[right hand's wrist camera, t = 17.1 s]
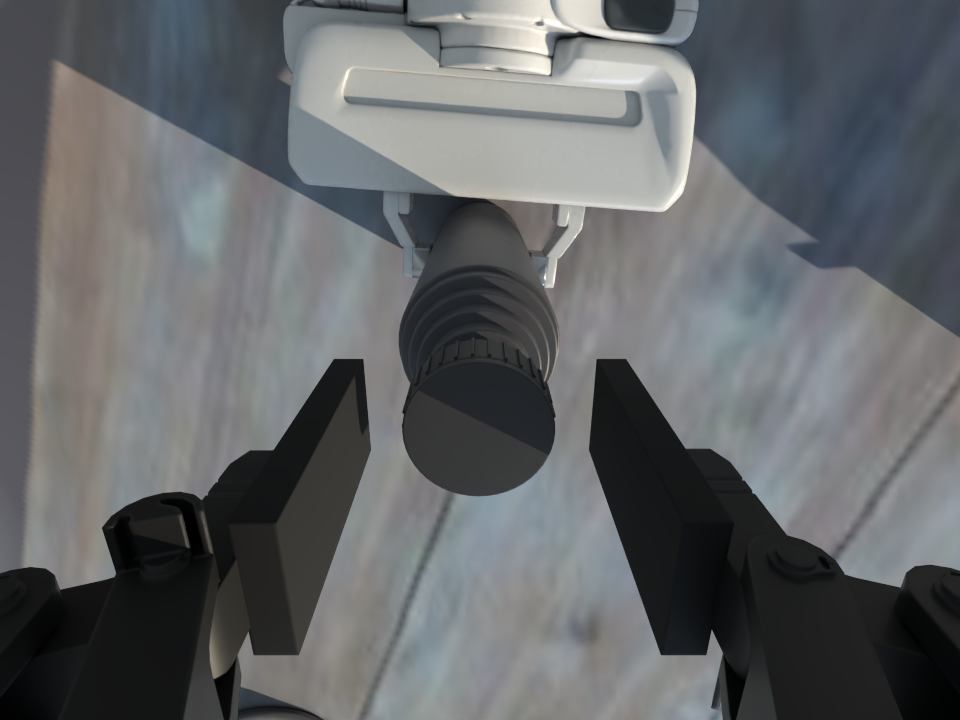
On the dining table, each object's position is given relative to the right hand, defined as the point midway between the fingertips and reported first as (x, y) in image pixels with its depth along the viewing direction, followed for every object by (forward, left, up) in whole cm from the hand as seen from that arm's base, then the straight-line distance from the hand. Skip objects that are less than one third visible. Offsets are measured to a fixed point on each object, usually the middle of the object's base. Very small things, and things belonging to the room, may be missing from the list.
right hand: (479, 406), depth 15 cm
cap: (0, 0, +1) cm, 1 cm away
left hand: (0, -1, -18) cm, 18 cm away
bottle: (0, 0, -24) cm, 24 cm away
